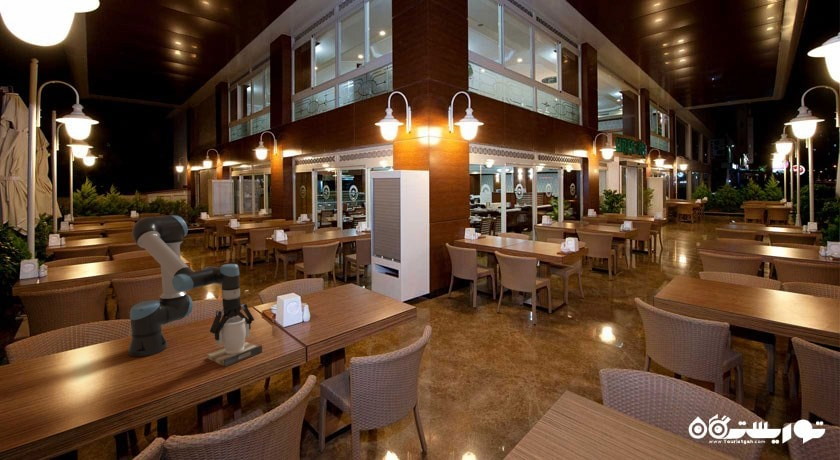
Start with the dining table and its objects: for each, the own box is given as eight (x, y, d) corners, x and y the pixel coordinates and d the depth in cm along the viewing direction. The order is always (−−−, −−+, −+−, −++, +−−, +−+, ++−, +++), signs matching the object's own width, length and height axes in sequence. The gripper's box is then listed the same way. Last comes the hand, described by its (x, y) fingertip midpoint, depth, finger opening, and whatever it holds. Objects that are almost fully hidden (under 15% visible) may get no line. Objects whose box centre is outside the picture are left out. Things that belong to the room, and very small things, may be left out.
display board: (207, 358, 172) (207, 351, 171) (243, 344, 187) (243, 338, 186) (225, 366, 163) (225, 360, 163) (262, 352, 178) (262, 345, 178)
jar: (251, 347, 179) (250, 317, 178) (236, 356, 169) (235, 324, 168) (232, 345, 181) (230, 315, 180) (216, 354, 171) (214, 323, 170)
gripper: (208, 305, 160) (211, 352, 162) (260, 292, 181) (262, 334, 183) (199, 302, 164) (202, 348, 166) (251, 290, 185) (253, 331, 187)
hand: (233, 341), depth 175 cm, fingers open, 13 cm apart
